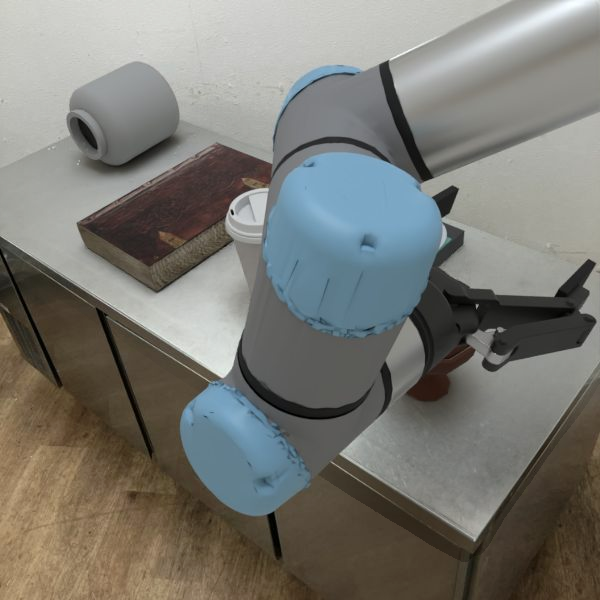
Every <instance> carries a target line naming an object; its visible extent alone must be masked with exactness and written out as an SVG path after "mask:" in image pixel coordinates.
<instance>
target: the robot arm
mask: <svg viewBox="0 0 600 600" xmlns="http://www.w3.org/2000/svg"><path fill="white" fill-rule="evenodd" d="M598 113H600V0H510V1H507V2H505V3H503V4H501V5H499V6H496V7H495V8H493V9H491V10H488V11H486V12H484V13H483V14H480V15H478V16H476V17H474V18H472V19H470V20H468V21H466V22H463V23H462V24H460V25H458V26H456V27H454V28H451V29H449V30H447V31H445V32H443V33H441V34H439V35H437V36H435V37H432V38H430V39H429V40H427V41H424V42H422V43H421V44H418V45H416V46H414V47H412V48H410V49H408V50H406V51H403V52H401V53H399V54H398V55H396V56H394V57H392V58H389V59H387V60H386V61H383V62H381V63H379V64H376V65H374V66H372V67H369V68H368V69H365V70H362V69H360V68H358V67H355V66H353V65H344V64H331V65H329V64H327V65H321V66H319V67H316V68H314V69H312V70H310V71H308V72H306V73H305V74H303V75H302V76H300V77H299V78H298V79H297V80H296V81H295V82H294V83H293V85H292V86H291V87H290V88H289V90H288V92H287V93H286V95H285V97H284V100H283V102H282V105H281V109H280V111H279V113H278V116H277V119H276V122H275V125H274V129H273V136H272V153H273V155H272V163H271V164H272V174H271V180H270V185H269V191H268V196H267V203H266V210H265V217H264V224H263V232H262V240H261V247H260V255H259V262H258V268H257V273H256V278H255V283H254V287H253V291H252V296H251V295H250V299H249V300H250V301H249V306H248V310H247V314H246V319H245V324H244V328H243V330H242V332H241V335H240V339H239V341H238V344H237V348H236V352H235V354H234V355H235V356H234V360H233V364H232V367H231V369H230V370H229V372H228V373H227V374H226V375H225V376H224V377H222V378H219V379H218V380H212V381H210V382H209V383H208V385H207V386H206V388H205V389H204V390H203V391H201V392H200V393H199V394H198V395H197V396H195V397H194V398H193V399H192V400H191V401H190V402H188V404H187V405H186V406H185V407H184V409H183V411H182V414H181V418H180V420H179V421H180V423H179V435H180V440H181V444H182V447H183V451H184V453H185V455H186V458H187V461H188V462H189V464H190V466H191V467H192V469H193V471H194V473H195V474H196V475H197V477H198V479H199V480H200V482H201V483H202V484H203V485H204V486H205V487H206V488H207V489H208V490H209V492H211V493H212V494H213V495H214V497H215V498H217V500H218V501H220V502H221V503H222V504H224V505H225V506H227V507H228V508H230V509H232V510H233V511H235V512H236V513H240V514H242V515H246V516H250V517H262V516H266V515H269V514H271V513H273V512H275V511H276V510H278V509H279V508H280V507H281V506H282V505H284V504H285V503H286V502H287V501H289V500H291V499H292V497H294V496H295V495H297V494H298V493H299V492H301V491H302V490H306V489H308V488H309V487H311V485H312V480H313V479H315V478H316V477H317V476H318V475H319V474H320V473H321V472H322V471H323V470H324V469H325V468H326V467H327V466H328V465H329V464H330V463H332V461H333V460H335V459H336V457H338V456H339V455H341V453H342V452H343V451H344V450H345V449H346V448H348V446H350V445H351V444H352V443H353V442H354V441H355V440H356V439H357V438H358V437H359V436H360V435H362V433H364V431H366V430H367V429H368V428H369V427H370V426H371V425H372V424H373V423H374V422H375V421H376V420H377V419H378V418H379V417H381V416H382V415H383V414H384V413H385V412H386V411H388V409H390V407H392V406H393V405H395V403H396V402H397V401H398V400H399V399H401V398H402V397H403V396H404V395H405V394H407V393H406V392H407V391H408V390H409V389H410V388H411V387H412V386H414V385H415V384H416V383H417V382H418V380H420V379H421V378H423V377H424V376H425V375H426V374H427V373H428V372H429V371H430V370H431V369H433V368H434V367H435V366H436V365H437V364H438V363H439V362H440V361H441V360H442V359H443V358H445V357H446V356H447V355H448V354H449V353H450V352H451V351H452V350H453V349H454V348H456V347H459V346H465V345H468V344H469V345H470V346H471V347H472V348H474V349H475V350H476V351H475V352H477V353H479V354H480V355H481V356H483V359H482V361H481V367H482V368H483V370H486V371H487V372H490V373H496V372H498V371H499V370H500V369H502V368H503V367H505V366H506V365H507V364H508V363H510V362H515V361H519V360H523V359H529V358H533V357H539V356H542V355H543V356H544V355H548V354H554V353H557V352H562V351H563V352H564V351H567V350H573V349H577V348H581V347H582V346H583V344H585V341H586V340H587V339H588V337H589V335H590V334H591V332H592V331H593V329H594V328H595V326H596V325H597V322H598V321H597V319H596V318H595V316H593V315H592V314H589V313H584V312H583V313H581V311H580V310H581V309H583V308H582V307H583V306H584V304H585V303H586V301H587V299H588V298H589V297H590V294H591V292H590V290H589V289H588V288H585V287H584V285H585V284H586V282H587V280H588V278H589V277H590V275H591V274H592V272H593V271H594V269H595V267H596V265H597V264H598V263H597V262H596V261H594V260H592V259H590V258H587V259H586V260H585V261H584V263H583V264H581V265H580V267H578V268H577V270H576V271H574V273H573V274H572V275H571V276H570V277H569V278H567V280H566V281H564V282H563V284H561V286H560V287H559V288H558V289H557V291H556V292H555V295H554V296H539V295H514V294H496V293H495V292H494V290H493V289H489V288H471V286H470V285H468V284H466V283H465V282H463V281H461V280H459V279H456V278H454V277H453V276H451V275H450V274H448V273H447V272H446V271H445V270H444V269H442V268H440V267H439V266H438V267H437V266H436V267H434V268H433V267H432V265H433V262H434V259H435V257H436V254H437V252H438V249H439V246H440V244H441V239H442V232H443V225H442V222H443V218H444V217H446V216H448V215H449V214H451V211H452V209H453V206H454V203H455V201H456V198H457V196H458V193H459V191H460V188H459V187H457V186H455V185H453V184H452V185H450V186H448V187H447V188H445V189H443V190H442V191H440V192H438V193H436V194H434V195H433V196H430V195H428V194H427V193H425V192H423V191H422V186H421V184H423V183H425V182H428V181H430V180H434V179H436V178H438V177H440V176H443V175H445V174H448V173H452V172H453V171H455V170H458V169H460V168H463V167H465V166H468V165H471V164H473V163H476V162H478V161H481V160H483V159H486V158H487V157H490V156H491V157H492V156H493V155H496V154H499V153H500V152H503V151H505V150H509V149H510V148H513V147H516V146H518V145H520V144H523V143H526V142H528V141H531V140H533V139H535V138H538V137H541V136H543V135H545V134H548V133H551V132H553V131H555V130H559V129H561V128H563V127H565V126H568V125H570V124H573V123H577V122H578V121H581V120H583V119H586V118H589V117H591V116H593V115H596V114H598ZM452 277H453V278H452ZM488 330H492V331H488ZM493 330H494V331H493Z"/></svg>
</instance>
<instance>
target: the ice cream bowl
mask: <svg viewBox="0 0 600 600" xmlns="http://www.w3.org/2000/svg"><path fill="white" fill-rule="evenodd" d="M451 277H452V278H454V277H453V276H451ZM476 352H477V351H476V350H475V349H474V348H472V347H471V346H470V345H469V344H468V345H465V346H459V347H456V348H454V349H453V350H452V351H451V352H450V353H449V354H448V355H447V356H446V357H445V358H443V359H442V360H441V361H440V362H439V363H438V364H437V365H436V366H435V367H434V368H433V369H431V370H430V371H429V372H428V373H427V374H426V375H425V376H424V377H423V378H421V379H420V380H418V382H417V383H416V384H415V385H414V386H412V387H411V388H410V389H409V390H408V391H407V392H406V393H405V394H406V395H407V396H409V397H411V398H413V399H415V400H417V401H419V402H437V401H438V400H440V399H441V398H443V397H444V396H446V395H448V393H449V389H450V385H451V381H450V378H449V377H448V374H450V373H451V372H453V371H455V370H456V369H458V368H460V367H461V366H463V365H464V364H466V363H467V362H469V360H471V359H472V358H473V356H475V353H476Z"/></svg>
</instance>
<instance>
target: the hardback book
mask: <svg viewBox="0 0 600 600" xmlns="http://www.w3.org/2000/svg"><path fill="white" fill-rule="evenodd" d="M271 174H272V163H271V162H268V161H266V160H264V159H260V158H259V157H255V156H253V155H250V154H248V153H245V152H243V151H240V150H237V149H235V148H232V147H230V146H227V145H225V144H222V143H220V142H215V143H213V144H211V145H210V146H208V147H206V148H204V149H203V150H200V151H199V152H197V153H195V154H194V155H192V156H190V157H188V158H187V159H185V160H183V161H182V162H180V163H177V164H176V165H175V166H173V167H171V168H170V169H167V170H165V171H164V172H162V173H161V174H159V175H157V176H156V177H154V178H152V179H149V180H148V181H147V182H145V183H143V184H142V185H140V186H138V187H137V188H134V189H132V190H131V191H129V192H128V193H125V194H124V195H122V196H121V197H119V198H117V199H115V200H113V201H112V202H110V203H108V204H107V205H104V206H103V207H102V208H99V209H98V210H96V211H95V212H92V213H91V214H89V215H87V216H86V217H84V218H82V219H81V220H79V221H77V222H76V227H77V230H78V233H79V235H80V237H81V240H82V242H83V244H84V246H85V248H87V249H89V250H90V251H92V252H93V253H95V254H96V255H99V256H100V257H101V258H102V259H105V260H106V261H108V262H109V263H110V264H113V265H114V266H116V267H117V268H119V269H120V270H122V271H123V272H125V273H126V274H128V275H130V276H131V277H133V278H135V279H136V280H137V281H139V282H140V283H142V284H144V285H145V286H147V287H149V288H151V290H153V291H155V292H158V291H160V290H162V289H163V288H165V287H166V286H167V285H169V284H171V282H173V281H175V280H176V279H178V278H179V277H180V276H182V275H184V274H185V273H186V272H188V271H189V270H191V269H192V268H193V267H195V266H196V265H198V264H199V263H201V262H203V260H206V259H207V258H208V257H210V256H211V255H212V254H215V252H217V251H219V250H220V249H221V248H222V247H224V246H225V245H227V244H228V243H230V242H231V241H233V238H232V237H231V236H230V235H229V234H228V232H227V231H226V228H225V221H226V216H227V213H228V211H229V207H230V205H231V203H232V202H233V201H234V200H235V199H236V198H237V197H238V196H240V195H242V194H243V193H246V192H248V191H251V190H255V189H261V188H269V185H270V180H271Z"/></svg>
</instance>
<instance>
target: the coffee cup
mask: <svg viewBox="0 0 600 600" xmlns="http://www.w3.org/2000/svg"><path fill="white" fill-rule="evenodd" d="M268 191H269V188H261V189H255V190H251V191H248V192H246V193H243V194H242V195H240V196H238V197H237V198H236V199H235V200H234V201H233V202H232V203H231V205H230V207H229V211H228V213H227V216H226V221H225V228H226V231H227V232H228V234H229V235H230V236H231V237H232V238H233V240H232V241H233V243H234V247H235V250H236V253H237V255H238V258H239V259H238V260H239V262H240V265H241V269H242V272H243V274H244V278H245V280H246V281H245V282H246V284H247V287H248V291H249V293H250V297H251V296H252V291H253V287H254V283H255V278H256V273H257V268H258V262H259V255H260V247H261V240H262V232H263V224H264V217H265V210H266V203H267V196H268Z"/></svg>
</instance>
